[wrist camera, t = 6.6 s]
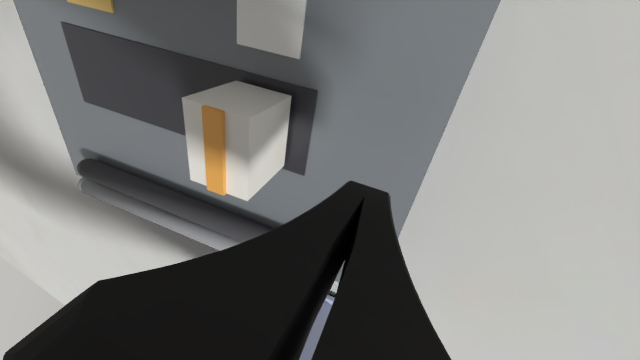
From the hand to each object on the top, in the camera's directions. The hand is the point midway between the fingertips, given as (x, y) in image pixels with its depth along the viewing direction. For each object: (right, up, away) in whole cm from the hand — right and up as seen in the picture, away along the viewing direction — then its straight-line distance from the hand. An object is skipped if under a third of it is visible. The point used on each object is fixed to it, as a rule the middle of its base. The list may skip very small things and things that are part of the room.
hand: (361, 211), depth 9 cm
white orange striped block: (-4, +4, +4) cm, 7 cm away
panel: (-7, +6, +7) cm, 12 cm away
